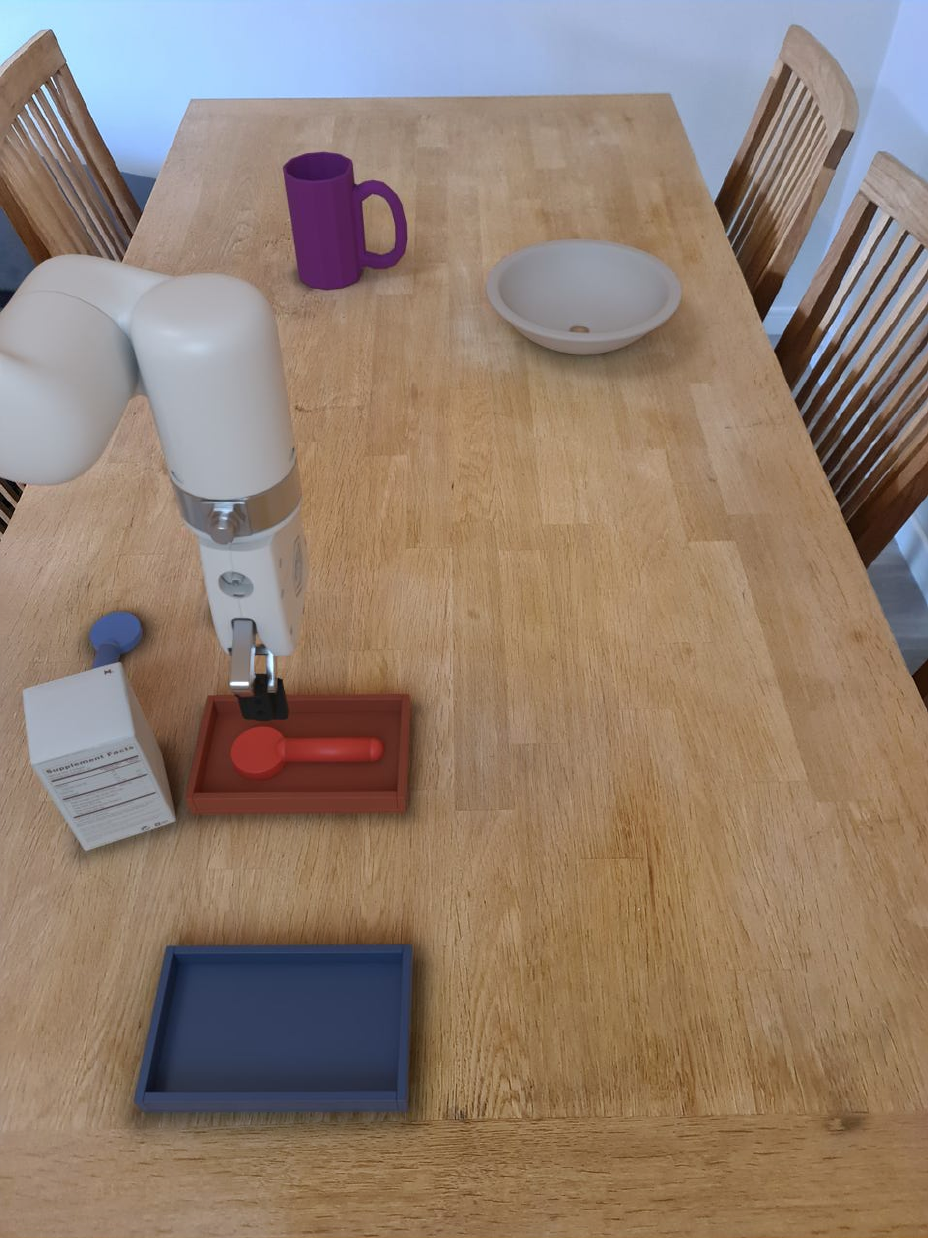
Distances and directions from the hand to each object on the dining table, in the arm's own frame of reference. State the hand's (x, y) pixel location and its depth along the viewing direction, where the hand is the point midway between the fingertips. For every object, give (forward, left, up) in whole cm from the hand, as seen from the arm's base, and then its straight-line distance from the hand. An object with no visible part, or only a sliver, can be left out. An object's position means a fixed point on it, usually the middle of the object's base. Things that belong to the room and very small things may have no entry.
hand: (275, 662), depth 71 cm
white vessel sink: (+29, +65, -13) cm, 72 cm away
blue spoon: (-18, +10, -13) cm, 25 cm away
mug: (-1, +80, -13) cm, 81 cm away
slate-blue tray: (+2, -22, -13) cm, 26 cm away
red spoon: (+1, 0, -12) cm, 12 cm away
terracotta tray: (+1, 0, -13) cm, 13 cm away
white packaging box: (-14, -4, -13) cm, 19 cm away
